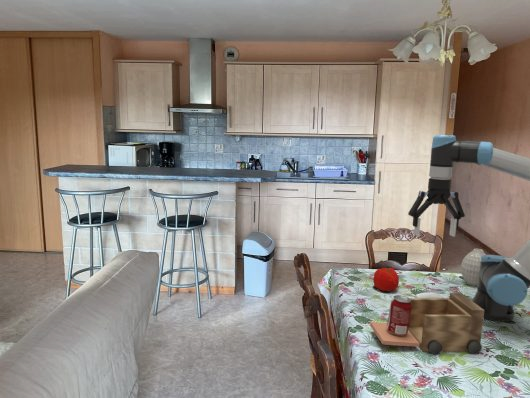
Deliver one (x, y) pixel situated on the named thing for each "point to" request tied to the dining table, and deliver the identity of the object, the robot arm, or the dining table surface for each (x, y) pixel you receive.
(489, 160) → the robot arm
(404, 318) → the soda can
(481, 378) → the dining table surface
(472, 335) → the truck
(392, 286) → the tomato
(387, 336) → the cabinet door
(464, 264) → the vase
